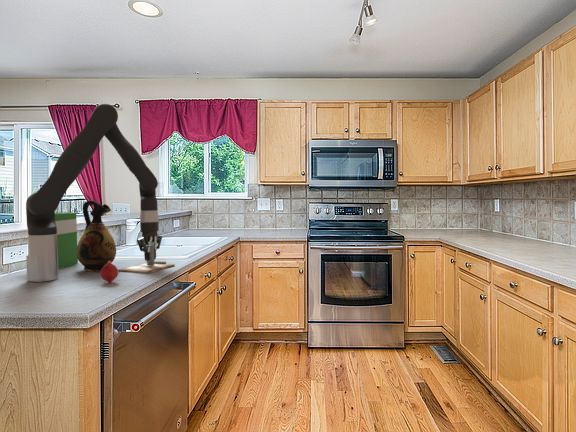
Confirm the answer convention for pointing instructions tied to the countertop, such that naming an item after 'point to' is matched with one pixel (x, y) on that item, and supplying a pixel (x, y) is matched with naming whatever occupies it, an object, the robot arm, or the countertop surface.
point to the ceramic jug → (95, 239)
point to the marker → (151, 255)
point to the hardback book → (66, 239)
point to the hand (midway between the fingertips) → (150, 259)
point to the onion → (109, 272)
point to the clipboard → (147, 267)
